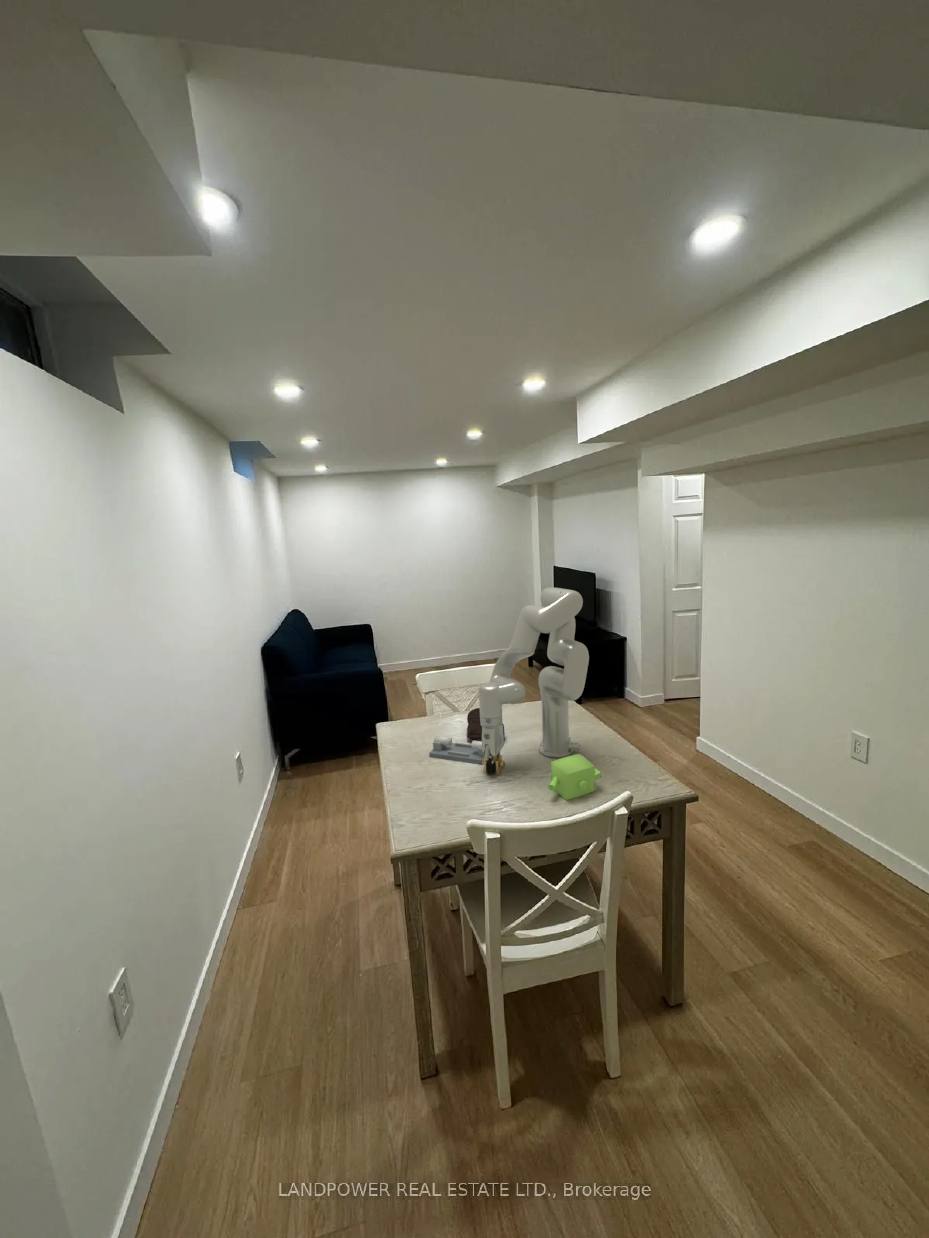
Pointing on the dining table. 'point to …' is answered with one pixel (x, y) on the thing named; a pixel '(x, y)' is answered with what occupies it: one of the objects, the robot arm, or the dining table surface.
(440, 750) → the grey fixture base
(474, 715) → the dark brown l-shaped piece
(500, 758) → the coupler
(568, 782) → the gearbox
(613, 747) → the dining table surface
